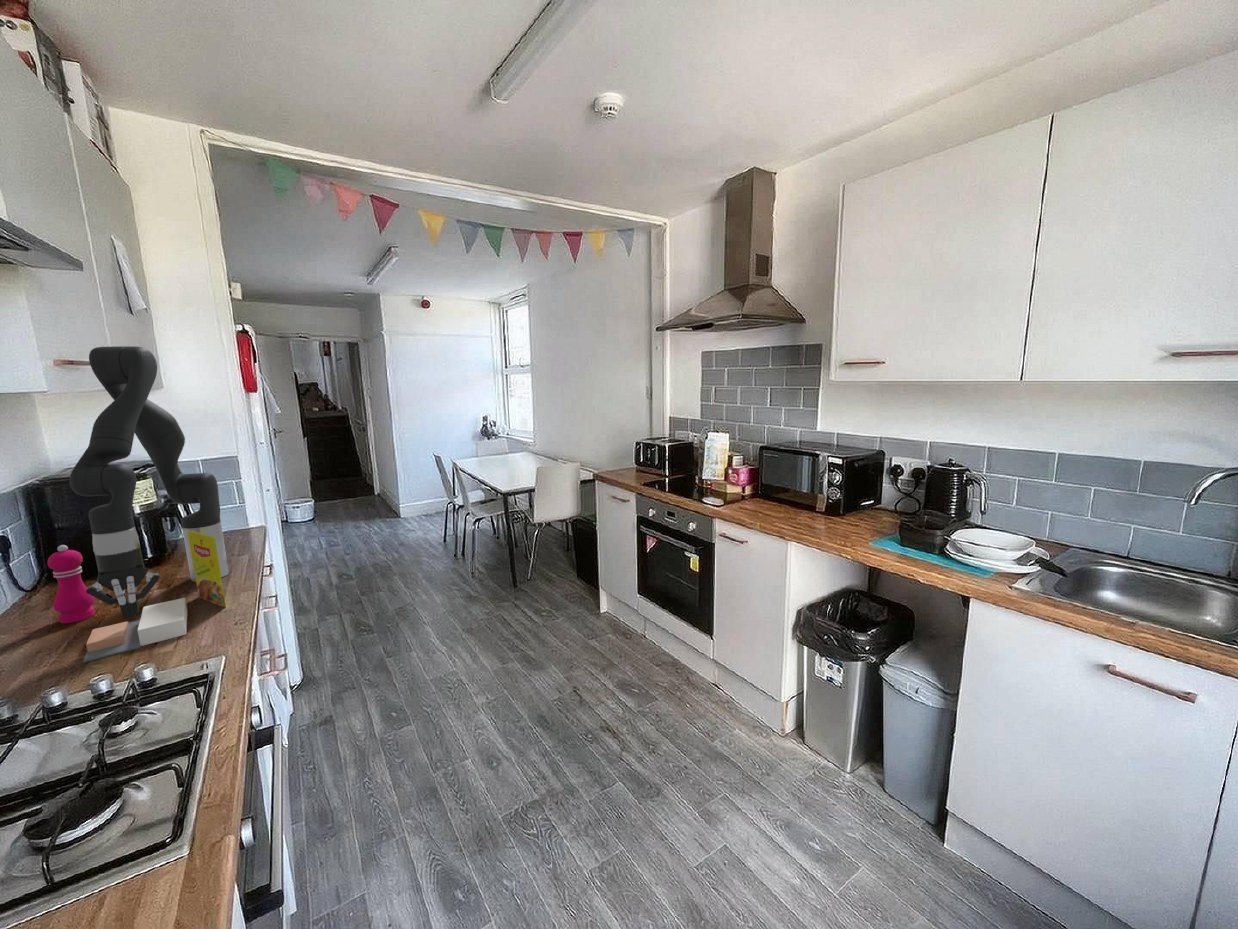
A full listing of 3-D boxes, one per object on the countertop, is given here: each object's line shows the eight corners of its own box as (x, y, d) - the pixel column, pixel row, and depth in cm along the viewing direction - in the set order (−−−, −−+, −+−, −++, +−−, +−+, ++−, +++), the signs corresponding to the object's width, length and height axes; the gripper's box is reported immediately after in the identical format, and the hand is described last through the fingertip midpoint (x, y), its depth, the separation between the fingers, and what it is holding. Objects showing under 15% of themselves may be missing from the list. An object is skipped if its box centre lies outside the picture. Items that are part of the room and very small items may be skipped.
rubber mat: (96, 631, 120) (96, 630, 120) (146, 619, 126) (146, 618, 126) (83, 662, 107) (83, 661, 107) (140, 648, 112) (139, 646, 112)
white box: (146, 621, 125) (143, 606, 125) (187, 611, 130) (185, 597, 130) (140, 646, 113) (137, 630, 113) (186, 634, 118) (183, 619, 118)
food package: (196, 597, 139) (184, 530, 135) (201, 596, 140) (189, 529, 136) (223, 608, 132) (212, 538, 128) (228, 606, 133) (217, 536, 129)
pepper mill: (104, 613, 130) (89, 541, 127) (68, 626, 123) (51, 551, 120) (86, 610, 132) (71, 539, 129) (50, 622, 125) (32, 548, 122)
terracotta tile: (127, 621, 120) (129, 628, 121) (92, 629, 117) (94, 637, 117) (123, 635, 114) (125, 643, 114) (86, 644, 110) (87, 652, 110)
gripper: (157, 538, 121) (168, 603, 124) (79, 551, 113) (94, 620, 116) (155, 545, 116) (167, 613, 119) (73, 559, 107) (88, 632, 110)
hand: (131, 616), depth 117 cm, fingers closed
